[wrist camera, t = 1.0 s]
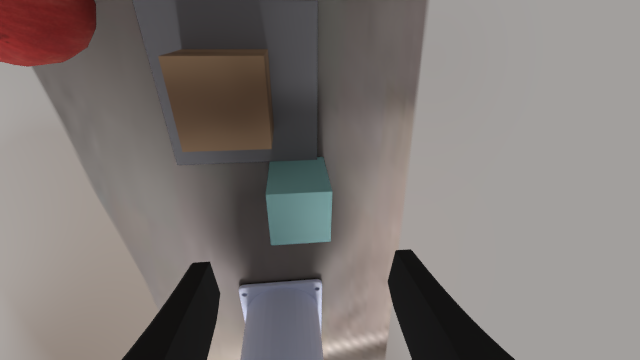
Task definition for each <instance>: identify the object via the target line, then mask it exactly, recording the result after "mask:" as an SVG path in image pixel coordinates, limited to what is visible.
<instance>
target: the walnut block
mask: <svg viewBox="0 0 640 360" xmlns="http://www.w3.org/2000/svg"><path fill="white" fill-rule="evenodd" d="M158 58H159V62H160V66H161V70H162V74H163V78H164V82H165V85H166V89H167V93H168V97H169V101H170V105H171V109H172V113H173V117H174V121H175V124H176V128H177V132H178V136H179V140H180V144H181V148H182V152H198V151H228V150H257V149H272V142H273V133H274V122H273V109H272V96H271V83H270V70H269V57H268V49H181V50H177V51H174V52H171V53H167V54H164V55H161V56H158Z"/></svg>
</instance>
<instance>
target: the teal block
mask: <svg viewBox="0 0 640 360" xmlns="http://www.w3.org/2000/svg"><path fill="white" fill-rule="evenodd" d="M266 203H267V212H268V222H269V231H270V241H271V245H286V244H301V243H317V242H331V215H332V189H331V185H330V181H329V177H328V173H327V170H326V166H325V162H324V158H323V157H317V160H299V161H272V162H270V163H269V171H268V179H267V188H266Z"/></svg>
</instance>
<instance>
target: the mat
mask: <svg viewBox="0 0 640 360" xmlns="http://www.w3.org/2000/svg"><path fill="white" fill-rule="evenodd" d="M132 1H133V5H134V9H135V12H136V16H137V20H138V23H139V27H140V31H141V34H142V38H143V42H144V45H145V49H146V53H147V56H148V60H149V64H150V67H151V71H152V74H153V78H154V82H155V85H156V89H157V93H158V96H159V100H160V104H161V107H162V111H163V115H164V118H165V122H166V126H167V129H168V133H169V137H170V140H171V144H172V148H173V151H174V155H175V159H176V162H177V165H194V164H220V163H246V162H272V161H299V160H317V47H318V1H302V0H132ZM181 49H268V57H269V70H270V83H271V96H272V109H273V122H274V133H273V142H272V149H257V150H228V151H198V152H182V148H181V144H180V140H179V136H178V132H177V128H176V124H175V121H174V117H173V113H172V109H171V105H170V101H169V97H168V93H167V89H166V85H165V82H164V78H163V74H162V70H161V66H160V62H159V58H158V56H161V55H164V54H167V53H171V52H174V51H177V50H181Z"/></svg>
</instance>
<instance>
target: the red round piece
mask: <svg viewBox="0 0 640 360" xmlns="http://www.w3.org/2000/svg"><path fill="white" fill-rule="evenodd" d="M95 29H96V4H95V1H94V0H0V62H5V63H9V64H14V65H20V66H36V65H44V64H52V63H60V62H64V61H66V60H68V59H70V58H72V57H73V56H75V55H76V54H78V53H79V52H81V51H82V50H84V49H85V48H87V47H88V45H89V42H90V40H91V38H92V36H93V34H94V31H95Z"/></svg>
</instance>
